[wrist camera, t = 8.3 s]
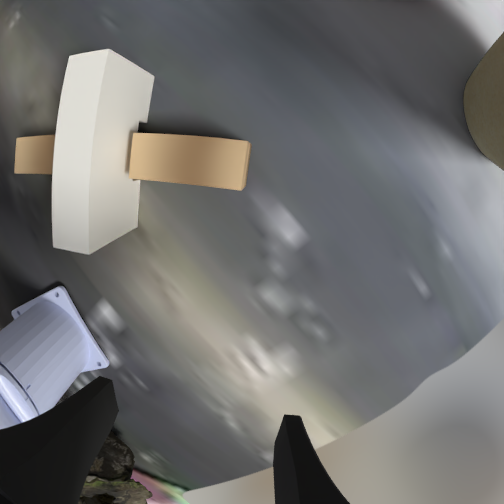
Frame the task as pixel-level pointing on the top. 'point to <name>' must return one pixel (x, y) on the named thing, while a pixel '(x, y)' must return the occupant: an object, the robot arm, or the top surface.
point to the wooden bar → (158, 159)
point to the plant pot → (487, 103)
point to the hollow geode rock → (113, 477)
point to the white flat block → (97, 150)
